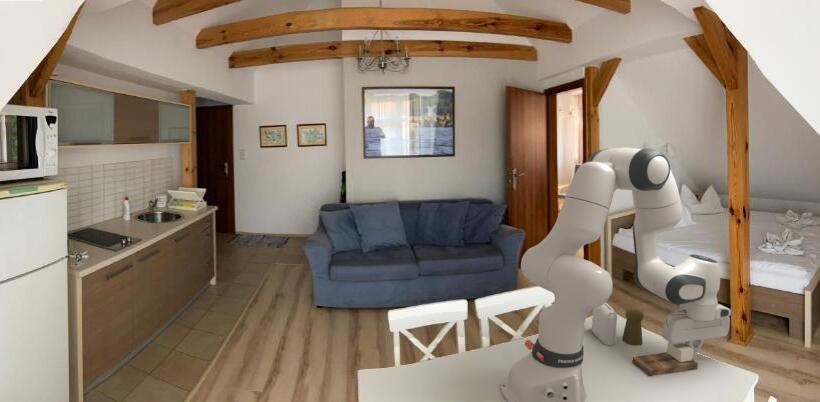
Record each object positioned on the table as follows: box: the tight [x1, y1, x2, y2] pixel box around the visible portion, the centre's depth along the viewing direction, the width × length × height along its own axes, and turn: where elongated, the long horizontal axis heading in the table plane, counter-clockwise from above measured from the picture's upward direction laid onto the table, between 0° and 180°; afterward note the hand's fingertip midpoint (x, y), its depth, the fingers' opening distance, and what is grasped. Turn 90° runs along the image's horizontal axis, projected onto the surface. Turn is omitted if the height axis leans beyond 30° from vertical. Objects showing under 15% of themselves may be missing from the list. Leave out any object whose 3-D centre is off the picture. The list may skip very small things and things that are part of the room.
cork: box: [621, 308, 644, 347], centre depth 134 cm, size 6×6×11 cm
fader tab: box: [666, 341, 694, 362], centre depth 121 cm, size 4×5×4 cm
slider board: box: [632, 351, 699, 377], centre depth 121 cm, size 16×7×2 cm, turn 101°
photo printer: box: [591, 302, 618, 346], centre depth 136 cm, size 10×4×12 cm, turn 1°
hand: (692, 351), depth 122 cm, fingers closed
